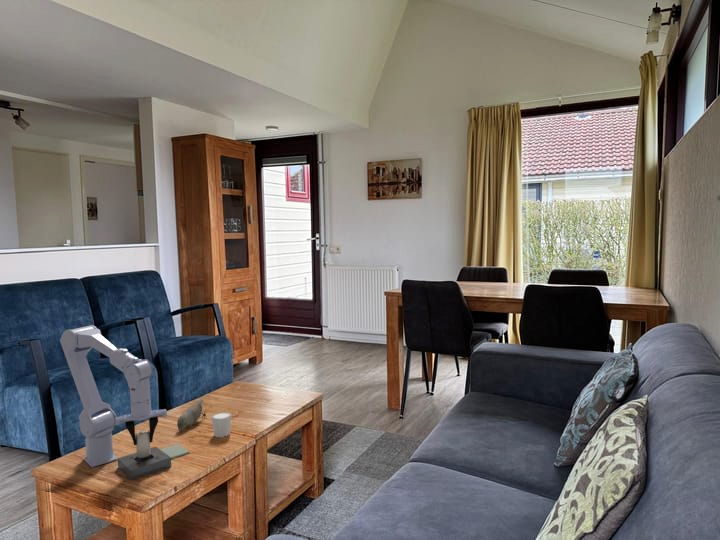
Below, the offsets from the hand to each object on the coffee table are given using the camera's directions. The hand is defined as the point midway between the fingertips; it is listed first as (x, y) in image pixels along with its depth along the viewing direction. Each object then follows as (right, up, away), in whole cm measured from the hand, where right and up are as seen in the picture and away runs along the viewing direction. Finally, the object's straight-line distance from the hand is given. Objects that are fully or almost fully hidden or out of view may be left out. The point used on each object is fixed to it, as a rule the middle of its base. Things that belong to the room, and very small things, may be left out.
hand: (143, 442), depth 157 cm
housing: (0, -8, 0) cm, 8 cm away
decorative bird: (+3, -6, +36) cm, 37 cm away
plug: (0, -4, 0) cm, 4 cm away
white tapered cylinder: (+18, -6, +25) cm, 32 cm away
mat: (+5, -7, +11) cm, 14 cm away
